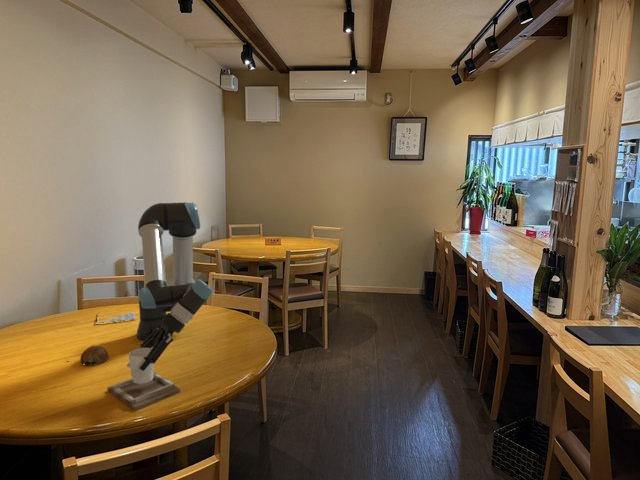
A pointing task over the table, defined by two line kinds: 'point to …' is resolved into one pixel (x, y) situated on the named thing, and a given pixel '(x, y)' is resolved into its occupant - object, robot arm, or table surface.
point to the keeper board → (143, 391)
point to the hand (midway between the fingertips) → (131, 372)
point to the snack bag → (127, 317)
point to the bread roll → (94, 355)
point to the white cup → (135, 360)
